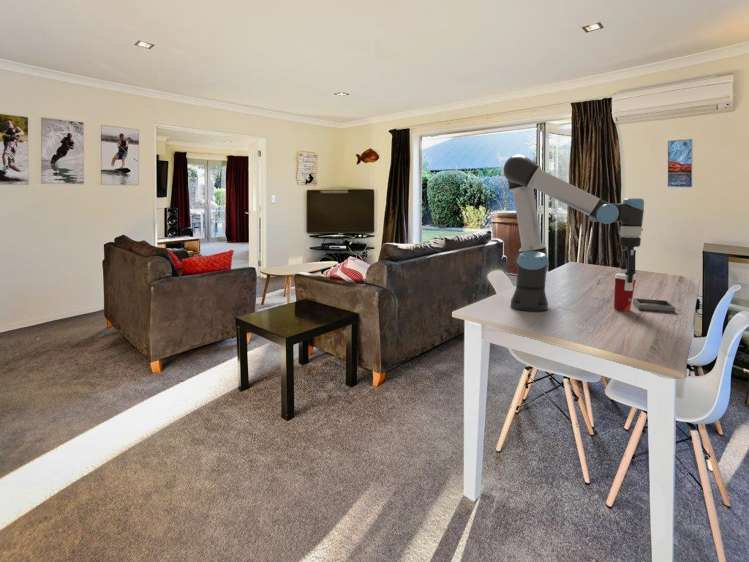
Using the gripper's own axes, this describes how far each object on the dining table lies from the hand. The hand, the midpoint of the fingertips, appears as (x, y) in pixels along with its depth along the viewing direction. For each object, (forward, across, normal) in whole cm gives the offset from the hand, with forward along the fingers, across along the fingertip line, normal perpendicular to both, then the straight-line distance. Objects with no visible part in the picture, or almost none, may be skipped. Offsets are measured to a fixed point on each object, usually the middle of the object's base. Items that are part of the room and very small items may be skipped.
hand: (625, 287), depth 185 cm
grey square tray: (+10, +8, -12) cm, 18 cm away
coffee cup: (+10, 0, 0) cm, 10 cm away
